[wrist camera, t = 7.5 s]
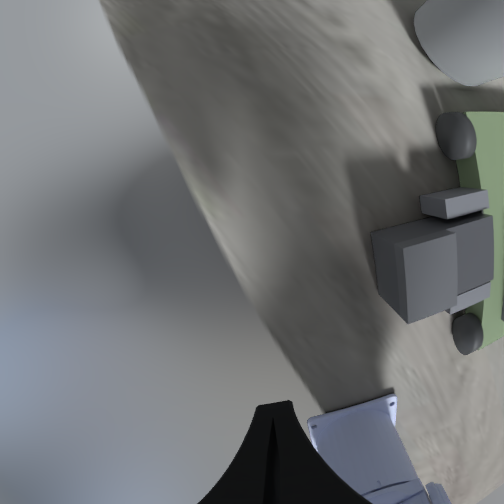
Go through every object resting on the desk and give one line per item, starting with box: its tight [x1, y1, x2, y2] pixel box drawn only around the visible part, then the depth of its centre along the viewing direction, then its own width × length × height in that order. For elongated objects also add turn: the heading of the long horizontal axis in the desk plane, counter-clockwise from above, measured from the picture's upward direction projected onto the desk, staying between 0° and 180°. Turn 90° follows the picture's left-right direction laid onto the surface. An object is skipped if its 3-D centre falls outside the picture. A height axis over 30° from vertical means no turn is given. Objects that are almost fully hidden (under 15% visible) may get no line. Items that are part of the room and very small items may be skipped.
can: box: [414, 0, 504, 86], centre depth 8 cm, size 8×8×12 cm
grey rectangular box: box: [371, 212, 494, 324], centre depth 16 cm, size 4×8×5 cm, turn 104°
